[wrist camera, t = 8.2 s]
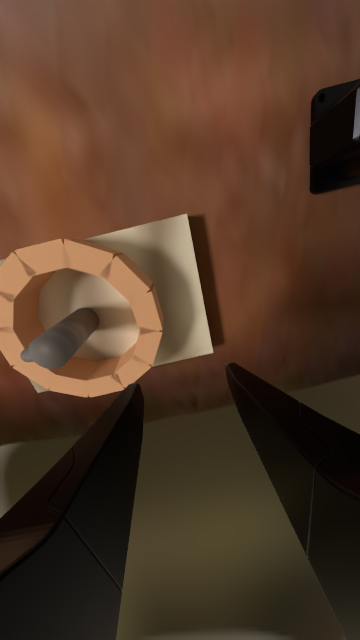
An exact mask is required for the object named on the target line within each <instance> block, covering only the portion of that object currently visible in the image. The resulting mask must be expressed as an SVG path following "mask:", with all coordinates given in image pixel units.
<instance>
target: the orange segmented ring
mask: <svg viewBox="0 0 360 640" xmlns="http://www.w3.org/2000/svg"><path fill="white" fill-rule="evenodd" d="M122 254H123V252H119V251H116V250H113V249H110V248H106V247H103V246H100V245H97V244H94V243H90V242H87V241H84V240H74V239H57V240H53V241H49V242H45V243H41V244H37V245H33V246H29V247H25V248H21V249H17V250H15V252H12V253H11V254H10V255H9V256H8V258H7V259H6V260H5V262H4V263H3V264H2V265H1V267H0V350H1V352H2V353H3V355H4V356H5V358H6V359H7V361H8V362H9V364H10V365H15V364H16V365H15V366H14V367H13V368H14V369H16V370H17V371H19V372H20V373H22V374H23V375H25V376H27V377H28V378H30V379H31V380H33V381H34V382H36V383H38V384H39V385H41V386H42V387H44V388H45V389H48V388H49V387H50V391H55V392H60V393H65V394H71V395H76V396H81V397H88V396H89V397H95V396H99V395H103V394H108V393H112V392H117V391H121V390H124V389H125V388H126V387H127V386H128V385H129V384H132V383H134V382H135V381H136V380H137V379H138V378H139V377H141V376H142V375H143V374H144V373H145V372H146V371H148V370H149V369H150V368H151V367H152V365H153V363H154V359H155V356H156V353H157V349H158V346H159V343H160V339H161V336H162V333H163V314H162V310H161V307H160V303H159V300H158V296H157V292H156V289H155V285H154V284H153V285H152V283H153V282H152V281H151V280H150V279H149V278H148V277H147V276H146V275H145V274H144V273H143V272H142V270H141V269H140V268H139V267H138V266H137V265H136V264H135V263H134V262H133V261H132V260H131V259H130V258H129V257H128V256H127V255H126V254H123V255H122ZM66 268H71V269H75V270H78V271H82V272H85V273H89V274H92V275H96V276H99V277H103V278H104V279H105V280H107V281H108V282H109V283H110V284H111V285H112V286H113V287H114V288H115V289H116V290H117V291H118V292H120V293H121V294H122V295H123V296H124V297H125V298H126V299H127V300H128V301H129V302H130V304H131V307H132V310H133V313H134V316H135V319H136V322H137V325H138V328H139V335H138V339H137V342H136V343H135V344H134V345H133V346H132V347H131V348H129V349H128V350H127V351H126V352H125V353H124V354H123V355H122V356H119V357H115V358H111V359H107V360H102V361H98V362H97V361H93V360H88V359H84V358H79V357H74V356H72V357H71V358H70V359H69V360H68V362H67V363H66V364H65V365H64V366H62V367H60V368H57V369H47V368H44V367H41V366H39V365H38V364H36V363H35V362H24V361H23V360H22V359H21V357H20V354H21V352H22V351H23V350H24V349H25V348H28V347H29V345H30V343H31V341H32V340H34V339H35V338H36V337H38V336H39V335H41V334H42V333H44V332H45V329H44V327H43V325H42V323H41V322H40V320H39V318H38V306H39V291H40V290H41V288H42V287H43V286H44V285H45V284H46V283H47V281H48V280H49V279H50V278H51V277H52V276H53V274H54V273H55V272H56V271H58V270H62V269H66Z"/></svg>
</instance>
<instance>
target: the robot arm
mask: <svg viewBox="0 0 360 640" xmlns="http://www.w3.org/2000/svg"><path fill="white" fill-rule="evenodd" d="M319 97H320V98H321V103H320V102H319V100H318V98H319ZM358 183H360V79H358V80H354V81H350V82H346V83H343V84H339V85H335V86H331V87H327V88H323V89H321V90H319V91H318V92H317V93H316V94H315V96H314V97H313V99H312V102H311V127H310V192H311V193H312V194H318V193H322V192H326V191H330V190H334V189H338V188H342V187H346V186H350V185H354V184H358ZM317 184H318V185H319V188H318V189H317V188H316V185H317ZM225 367H226V375H227V381H228V384H229V387H230V390H231V393H232V396H233V399H234V402H235V405H236V407H237V410H238V413H239V415H240V418H241V420H242V422H243V424H244V426H245V428H246V431H247V433H248V434H249V436H250V439H251V441H252V443H253V445H254V447H255V449H256V451H257V454H258V456H259V457H260V460H261V462H262V464H263V466H264V468H265V470H266V472H267V474H268V476H269V479H270V481H271V483H272V485H273V487H274V488H275V491H276V493H277V495H278V497H279V499H280V501H281V503H282V506H283V508H284V510H285V512H286V514H287V516H288V518H289V520H290V522H291V524H292V527H293V529H294V531H295V533H296V535H297V537H298V539H299V541H300V543H301V545H302V547H303V549H304V551H305V554H306V556H307V557H308V560H309V562H310V564H311V566H312V569H313V571H314V573H315V575H316V577H317V579H318V581H319V583H320V585H321V587H322V589H323V592H324V593H325V595H326V598H327V600H328V602H329V604H330V606H331V608H332V610H333V612H334V614H335V616H336V618H337V621H338V623H339V625H340V627H341V629H342V631H343V633H344V635H345V637H346V639H347V640H360V434H358V433H356V432H354V431H352V430H350V429H348V428H346V427H344V426H342V425H340V424H338V423H336V422H335V421H333V420H331V419H329V418H327V417H325V416H323V415H321V414H320V413H318V412H316V411H315V410H313V409H311V408H309V407H308V406H306V405H304V404H303V403H299V402H298V401H297V400H296V399H294V398H292V397H291V396H289V395H287V394H286V393H284V392H282V391H281V390H279V389H277V388H276V387H274V386H272V385H271V384H269V383H267V382H266V381H264V380H262V379H261V378H259V377H257V376H256V375H254V374H252V373H251V372H249V371H247V370H246V369H244V368H242V367H241V366H239V365H237V364H236V363H230V364H226V366H225ZM143 422H144V397H143V394H142V391H141V388H140V385H139V383H132V384H129V385H128V386H127V387H126V388H125V389H124V390H123V391H122V393H121V394H120V395H119V396H118V397H117V398H116V399H115V400H114V401H113V402H112V403H111V404H110V406H109V407H108V408H107V409H106V410H105V411H104V412H103V413H102V414H101V415H100V416H99V418H98V419H97V420H96V421H95V422H94V423H93V424H92V425H91V426H90V427H89V428H88V430H87V431H86V432H85V433H84V434H83V435H82V436H81V437H80V438H79V439H78V441H76V443H75V444H74V445H73V446H72V448H70V449H69V450H68V451H67V452H66V453H65V454H64V456H63V457H62V458H61V459H60V460H59V461H58V462H57V463H56V464H55V465H54V466H53V467H52V468H51V469H50V470H49V471H48V472H47V473H46V474H45V475H44V476H43V477H42V478H41V479H40V480H39V481H38V482H37V483H36V484H35V485H34V486H33V487H32V488H31V489H30V490H29V491H28V492H27V493H26V494H25V495H24V496H23V497H22V498H21V499H20V500H19V501H18V502H17V503H16V504H15V505H14V506H13V507H12V508H11V509H10V510H9V511H8V512H6V513H5V514H4V515H3V516H2V517H1V518H0V640H116V634H117V626H118V618H119V611H120V604H121V596H122V591H121V590H122V588H123V580H124V573H125V565H126V558H127V550H128V543H129V536H130V528H131V520H132V512H133V506H134V499H135V491H136V483H137V476H138V469H139V461H140V454H141V446H142V438H143Z"/></svg>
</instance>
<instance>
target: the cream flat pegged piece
mask: <svg viewBox="0 0 360 640" xmlns="http://www.w3.org/2000/svg"><path fill="white" fill-rule="evenodd" d="M84 241H87V242H90V243H94V244H97V245H100V246H103V247H106V248H110V249H113V250H116V251H119V252H123V254H126V255H127V256H128V257H129V258H130V259H131V260H132V261H133V262H134V263H135V264H136V265H137V266H138V267H139V268H140V269H141V270H142V272H143V273H144V274H145V275H146V276H147V277H148V278H149V279H150V280H151V281H152V282H153V283H152V285H153V284H154V285H155V289H156V292H157V296H158V300H159V303H160V307H161V310H162V314H163V333H162V336H161V339H160V343H159V346H158V349H157V353H156V356H155V359H154V363H153V365H152V367H153V366H157V365H161V364H166V363H170V362H175V361H179V360H183V359H188V358H192V357H196V356H201V355H205V354H209V353H213V349H212V343H211V338H210V333H209V327H208V322H207V317H206V312H205V306H204V301H203V296H202V291H201V285H200V280H199V275H198V269H197V264H196V259H195V254H194V248H193V243H192V238H191V233H190V227H189V222H188V217H187V214H184V215H180V216H176V217H172V218H168V219H164V220H160V221H156V222H152V223H148V224H144V225H140V226H136V227H132V228H128V229H124V230H120V231H116V232H112V233H108V234H104V235H100V236H96V237H92V238H88V239H84ZM123 254H122V255H123ZM5 260H6V259H3V260H0V267H1V265H2V264H3V263H4V262H5ZM38 318H39V320H40V322H41V323H42V325H43V327H44V329H45V332H44V333H42V334H41V335H39V336H38V337H36V338H35V339H34V340H32V341H31V343H30V345H29V347H28V348H25V349H24V350H23V351H22V352H21V354H20V357H21V359H22V360H23V361H24V362H35V363H36V364H38V365H39V366H41V367H44V368H47V369H57V368H60V367H62V366H64V365H65V364H66V363H67V362H68V360H69V359H70V358H71V357H72V356H74V357H79V358H84V359H88V360H93V361H97V362H98V361H102V360H107V359H111V358H115V357H119V356H122V355H123V354H124V353H125V352H126V351H127V350H128V349H129V348H131V347H132V346H133V345H134V344H135V343H136V342H137V339H138V335H139V328H138V325H137V322H136V319H135V316H134V313H133V310H132V307H131V304H130V302H129V301H128V300H127V299H126V298H125V297H124V296H123V295H122V294H121V293H120V292H118V291H117V290H116V289H115V288H114V287H113V286H112V285H111V284H110V283H109V282H108V281H107V280H105V279H104V278H103V277H99V276H96V275H92V274H89V273H85V272H82V271H78V270H75V269H71V268H66V269H62V270H58V271H56V272H55V273H54V274H53V276H52V277H51V278H50V279H49V280H48V281H47V283H46V284H45V285H44V286H43V287H42V288H41V290H40V291H39V306H38ZM29 380H30V381H31V383H32V384H33V386H34V388H35V389H36V391H37V392H38V393H39V392H44V391H48V390H50V387H49V388H48V389H45V388H44V387H42V386H41V385H39V384H38V383H36V382H34V381H33V380H31V379H30V378H29Z"/></svg>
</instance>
